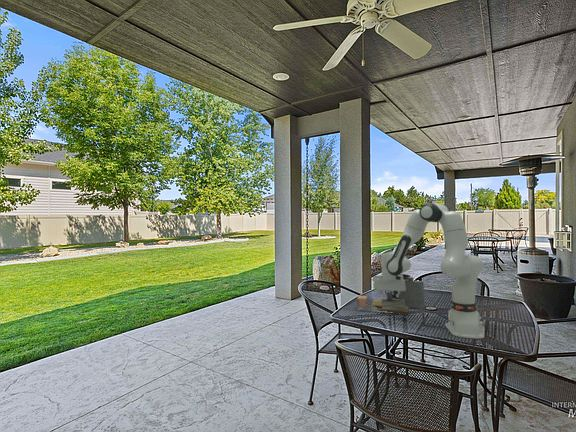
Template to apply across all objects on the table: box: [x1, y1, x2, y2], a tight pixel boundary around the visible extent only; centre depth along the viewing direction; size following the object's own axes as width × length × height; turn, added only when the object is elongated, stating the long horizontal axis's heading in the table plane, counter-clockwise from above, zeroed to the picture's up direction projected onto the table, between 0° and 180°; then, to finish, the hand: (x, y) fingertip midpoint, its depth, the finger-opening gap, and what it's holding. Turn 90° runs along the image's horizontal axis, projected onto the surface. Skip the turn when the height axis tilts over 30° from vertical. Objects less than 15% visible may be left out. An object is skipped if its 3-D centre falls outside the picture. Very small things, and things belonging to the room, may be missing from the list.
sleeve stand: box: [369, 297, 409, 316], centre depth 206 cm, size 14×32×7 cm, turn 68°
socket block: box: [357, 295, 368, 307], centre depth 211 cm, size 6×6×6 cm
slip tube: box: [371, 291, 393, 307], centre depth 205 cm, size 3×16×9 cm, turn 68°
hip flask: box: [398, 276, 426, 309], centre depth 209 cm, size 16×4×20 cm, turn 57°
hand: (389, 297), depth 204 cm, fingers open, 8 cm apart
